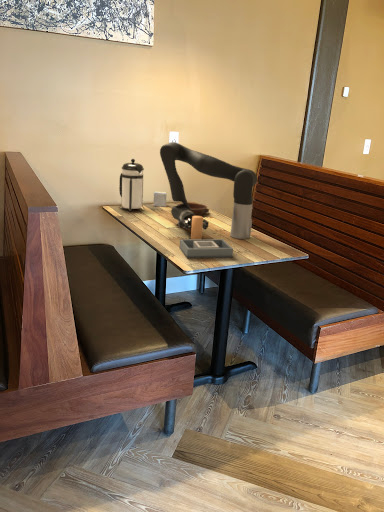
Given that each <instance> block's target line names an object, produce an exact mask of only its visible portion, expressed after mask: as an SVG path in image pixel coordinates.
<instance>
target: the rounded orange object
mask: <svg viewBox="0 0 384 512" xmlns="http://www.w3.org/2000/svg"><path fill="white" fill-rule="evenodd" d="M203 220H204V217H203V216H202V215H197V216H192V228H190V229H191V231H190V239H202V238H203V236H202V235H203V228H202V226H203Z"/></svg>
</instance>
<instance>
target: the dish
mask: <svg viewBox="0 0 384 512" xmlns="http://www.w3.org/2000/svg"><path fill="white" fill-rule="evenodd" d="M182 204H183V203H182V202H180V203H178V204H177V205H176V206H178V205H182ZM188 204H189V206H190V208H191V212H193V213H194V214H195V215H196V216H202V215H204V214H205V213H209V211H210V208H208V206H207V205H205V204H201V203H195V202H188Z"/></svg>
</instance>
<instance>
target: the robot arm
mask: <svg viewBox="0 0 384 512" xmlns="http://www.w3.org/2000/svg"><path fill="white" fill-rule="evenodd" d="M159 156H160V159H161V162H162V165H163V167H164V171H165V173H166V176H167V180H168V184H169V187H170V188H169V189H170V193H171V199H172V202H175V203H176V202H180V203H183V204H182V205H178V204H177V205H178V206H177V205H174V206H173V207H172V208H171V210H170V212H171V213H170V214H171V217H172V218H174V220H176V221H177V226H178V227H179V228H183V229H186V230H189V229H191V228H192V216H196V215H195V214H194V213H193V212H191V208H190V206H189V204H188V203H189V202H188V200H187V197H186V192H185V187H184V184H183V183H184V182H183V181H182V179H181V176H180V174H179V173H178V170H177V168H176V167H177V166H176V161H179V162H183V163H186V164H189V166H191V167H192V168H194V169H195V170H196V171H197V172H199V173H201V174H203V175H206V176H209V177H212V178H218V179H225V180H228V181H231V182H233V206H232V208H233V209H232V216H231V226H230V234H229V235H230V237H231V238H233V239H237V240H247V239H251V235H252V234H251V233H252V226H253V225H252V224H253V219H252V214H253V212H252V211H253V205H254V204H253V201H254V198H253V188H254V186H256V184H257V183H258V176H257V174H256V172H255V171H253V170H252V169H247V168H244V167H240V166H236V165H234V164H230V163H229V162H226V161H224V160H221V159H220V158H217V157H214V156H212V155H208V154H205V153H202V152H199V151H196V150H192V149H191V148H188V147H187V146H184V145H183V144H180V143H178V142H175V141H171V142H168V143H165V144H163V145H162V146H160V149H159ZM208 228H209V221H207V220H206V219H204V218H203V225H202V230H205V231H206V230H207V229H208Z"/></svg>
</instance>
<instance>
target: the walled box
mask: <svg viewBox="0 0 384 512" xmlns="http://www.w3.org/2000/svg"><path fill="white" fill-rule="evenodd" d="M179 250H180V251H181V252H182V254H183V255H184V257H185V258H186V259H226V258H227V259H228V258H229V259H230V258H231V259H232V258H233V255H234V248H233V247H232V246H231V245H230V244H229V243H228V242H227V241H225V239H223V238H218V239H217V238H215V239H212V238H205V239H204V238H203V239H202V238H201V239H191V238H190V239H186V238H185V239H179Z"/></svg>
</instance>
